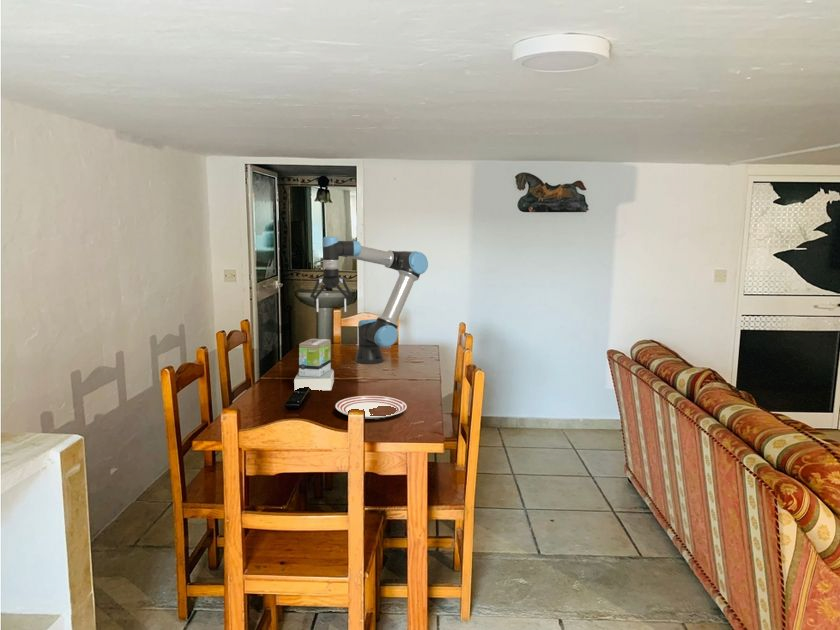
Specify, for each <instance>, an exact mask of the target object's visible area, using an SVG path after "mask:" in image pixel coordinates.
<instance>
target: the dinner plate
mask: <svg viewBox="0 0 840 630" xmlns="http://www.w3.org/2000/svg"><path fill="white" fill-rule="evenodd" d="M334 406H335V407H334V408H335V409H336V410H337V411H338V412H339V413H341V414H343V415H346V416H348V411H349V410H351V409H359V410H363V409H364V411H365V419H375V420H380V419H379V418H383V419H387V418H389V417H393V416H395V415H398V414H401V413H403V412H405V411H406V409H407V407H408V406H407V404H406V403H405V402H404V401H402V400H400V399H397V398H395V397H394V398H393V397H390V396H383V395H381V396H380V395H359V396H351V397H347V398H344V399H341V400H338V401H337V402H336V403H335V405H334ZM378 406H391V407H394V408H396V410H397V411H396V412H395V413H394V414H391V415H386V416H370V415H371V414H370V412H369V409H373V408H377V407H378ZM372 415H373V414H372ZM386 417H387V418H386ZM365 419H364V420H365Z"/></svg>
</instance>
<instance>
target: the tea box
mask: <svg viewBox="0 0 840 630" xmlns="http://www.w3.org/2000/svg"><path fill="white" fill-rule="evenodd" d="M331 343H332V342H331V339H329V338H327V339H326V338H310V339H307V340H305V341H303V342H300V343H299V344H298V346H299V347H298V350H299V352H298V356H299V357H298V372H299V376H309V377H320V376H321V375H322V374H324V373H326V372H328V371H329V370H330V369H332V368H331V364H332V362H331V360H332V359H331V357H332V355H331V353H332V351H331V350H332V349H331V348H332V347H331V346H332V345H331Z"/></svg>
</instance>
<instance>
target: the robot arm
mask: <svg viewBox="0 0 840 630" xmlns="http://www.w3.org/2000/svg"><path fill="white" fill-rule="evenodd" d="M339 257H342V258H348V259H353V260H358V261H363V262H368V263H373V264H378V265H382V266H384V268H387V269H392V270H395V271H397V272H398V274H399V275H398V278H397V280H396V282H395V285H394V287H393V289H392V291H391V294H390V296H389V298H388V301H387V303H386V305H385V307H384V310H383V311H382V314H381V315H380V316H378V317H377V318H373V319H372V318H370V319H360V320H359V321H358V325H357V328H358V329H357V330H358V336H357V337H358V347H357V351H356V355H355V359H354V360H355V362H356V363H357V364H365V365H367V364H368V365H372V364H381V363H383V362H384V356H383V353H382V349H381V348H389V347H391V346H393V345H395V343H396V342H397V339H398V336H399V334H398V327H399V325H398V320H399V317H400V316H401V312H402V311H403V308H404V306H405V305H406V304H405V303H406V301H407V300H408V299H407V298H408V296H409V294H410V292H411V290H412V288H413V285H414V283H415V282H417V281H418V280H419V279H420V275H423V274H425V272H426V271H427V270H428V268H429V267H428V266H429V261H428V258H427V256H426V254H424V253H423V252H421V251H415V250H414V251H410V250H409V251H407V250H406V251H405V250H402V251H401V250H399V251H397V250H391V249H389V250H381V249H377V248H372V247H368V246H363V245H361V242H359V241H357V240H339V237H338V236H324V237H323V238H322V267H323V270H322V271H323V275H322V276H323V277H322V278H318V277H317V278H316V283H315V284H314V285H315V286H314V287H313V289H312V292H311V294H310V296H309V297H310V298H313V300H314V301H313V303H314V306H316V313H319V312H320V308H319V306H320V305H319V304H320V303H319V300H320V299H319V298H318V297H319V296H320V295H321V293H323V291H324V290H325V289H326V288H327V289H330V288H334V289H335V288H337V290H339V292H340V293H341V294H342V295H343V297H344V301H343V303H344V313H347V306H348V305H349V303H350V302H349V300H350V298H352V297H353V295H352V292H351V290H350V288H349V286H348V284H347V282H346V278H340V273H339V272H340V270H339V268H340V267H339V266H340V265H339V264H340V263H339V262H340V261H339ZM340 282H341V284H343V286H344V288H345V290H346V292H345V291H344V290H343V288H342V287H341V285H340V284H339V283H340ZM321 283H323V284H324V285H323V286H322V287H321V288H320V289H319V290H318V292H317V293H316V291H317V289H318V288H319V286H320V284H321Z"/></svg>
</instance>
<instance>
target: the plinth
mask: <svg viewBox="0 0 840 630" xmlns="http://www.w3.org/2000/svg"><path fill="white" fill-rule="evenodd" d="M293 383H294V391H295V390H297V389H299V388H304V387H309V388H310V389H311V390H319V391H320V390H322V392H323V391H332V389H333V385H334V383H335V371H334V369H333V368H331V369H330V370H329V371H328V372H326V373H324V374H322V375H321V376H320V377H309V376H299V371H298V372H297V374H296V375H295V377H294V380H293Z"/></svg>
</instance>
